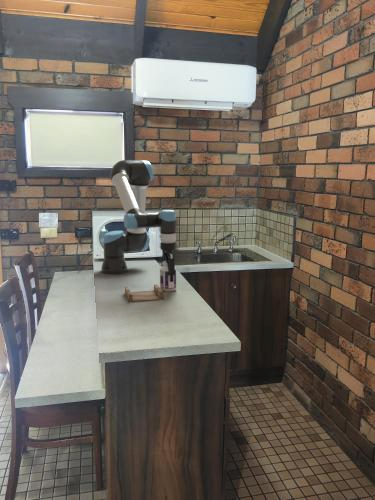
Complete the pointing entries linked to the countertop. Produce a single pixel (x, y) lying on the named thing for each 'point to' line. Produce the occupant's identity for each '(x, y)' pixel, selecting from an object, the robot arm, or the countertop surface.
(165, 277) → the pill bottle
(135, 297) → the cradle
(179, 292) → the countertop surface
